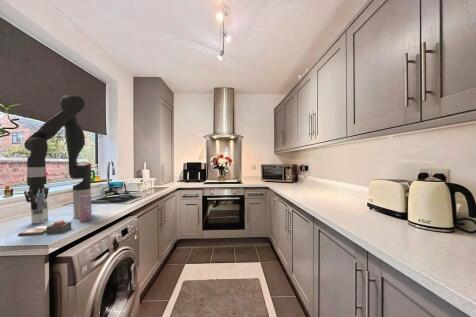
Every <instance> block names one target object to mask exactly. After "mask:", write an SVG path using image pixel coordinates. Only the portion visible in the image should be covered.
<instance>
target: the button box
mask: <svg viewBox="0 0 476 317" xmlns="http://www.w3.org/2000/svg"><path fill="white" fill-rule="evenodd" d="M46 226H47V232H46V235H49V234H50V235H51V234H63V233H65V232H67V231H70V230H71V229H72V221H64V224H63V225H57V226H54V223H52V224H50V225H46Z"/></svg>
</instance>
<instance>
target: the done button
mask: <svg viewBox="0 0 476 317" xmlns="http://www.w3.org/2000/svg"><path fill="white" fill-rule="evenodd" d="M64 222H65V220H57V221H54V222H53V224H54V226H57V225H63V224H64Z"/></svg>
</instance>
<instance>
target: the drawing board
mask: <svg viewBox="0 0 476 317" xmlns="http://www.w3.org/2000/svg"><path fill="white" fill-rule="evenodd" d="M47 226H48V225H38V226H35V227H32V228H30V229H27V230H25V231H23V232H20V233H18V234H17V236H18V237H22V236H25V237H26V236H42V235H44V234H47Z"/></svg>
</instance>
